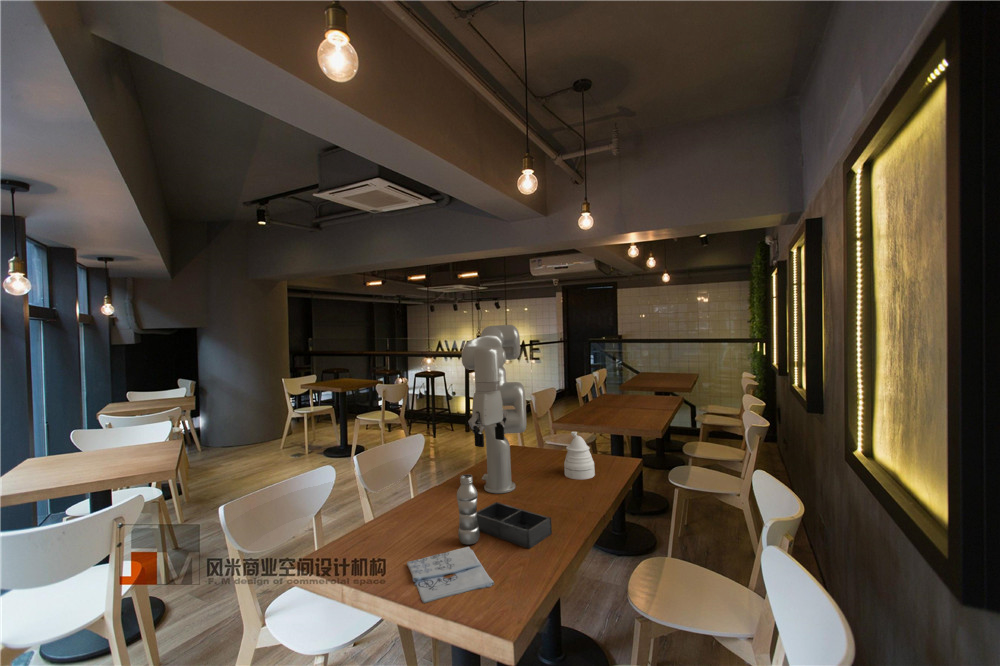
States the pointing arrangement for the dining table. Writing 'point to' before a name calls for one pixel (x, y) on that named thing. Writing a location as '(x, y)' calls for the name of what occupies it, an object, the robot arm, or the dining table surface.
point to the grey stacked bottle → (467, 511)
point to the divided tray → (514, 524)
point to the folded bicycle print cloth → (457, 562)
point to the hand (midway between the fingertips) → (489, 443)
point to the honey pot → (578, 459)
